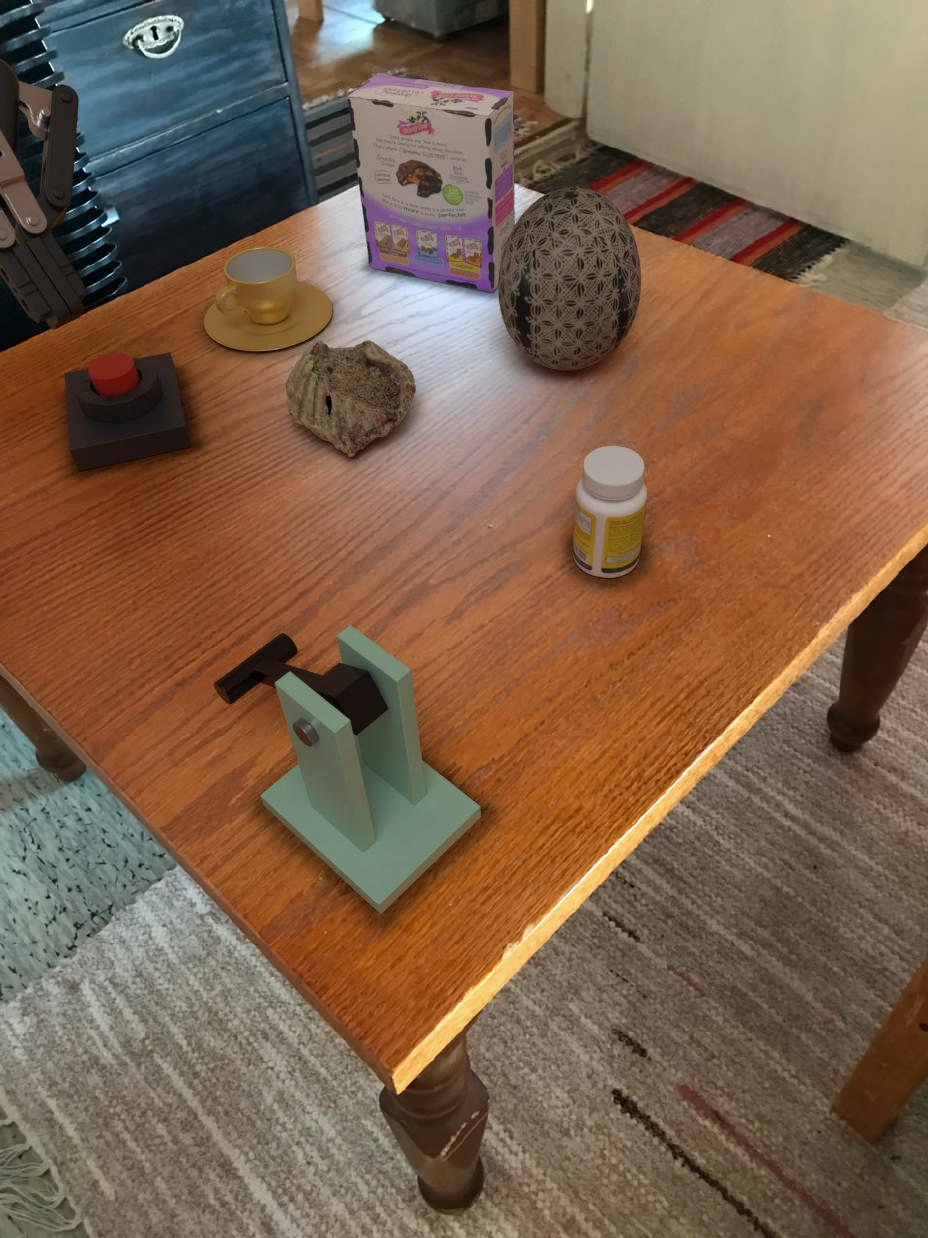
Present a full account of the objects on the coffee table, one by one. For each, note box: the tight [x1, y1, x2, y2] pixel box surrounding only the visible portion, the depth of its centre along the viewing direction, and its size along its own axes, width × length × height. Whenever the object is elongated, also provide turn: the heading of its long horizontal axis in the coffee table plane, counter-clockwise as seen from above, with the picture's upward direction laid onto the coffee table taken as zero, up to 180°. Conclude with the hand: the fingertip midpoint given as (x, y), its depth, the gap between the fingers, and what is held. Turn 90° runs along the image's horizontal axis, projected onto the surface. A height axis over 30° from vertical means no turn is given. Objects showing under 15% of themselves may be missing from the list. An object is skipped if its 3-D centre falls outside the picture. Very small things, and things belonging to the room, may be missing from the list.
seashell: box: [285, 339, 417, 458], centre depth 79 cm, size 11×7×10 cm
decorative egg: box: [497, 186, 642, 371], centre depth 80 cm, size 12×12×15 cm
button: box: [87, 352, 139, 396], centre depth 79 cm, size 4×4×2 cm
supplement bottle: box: [572, 445, 648, 579], centre depth 67 cm, size 5×5×8 cm
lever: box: [213, 632, 389, 736], centre depth 52 cm, size 12×5×2 cm, turn 47°
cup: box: [203, 246, 334, 352], centre depth 90 cm, size 12×12×5 cm
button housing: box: [64, 351, 192, 472], centre depth 81 cm, size 11×9×4 cm
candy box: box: [347, 72, 516, 293], centre depth 91 cm, size 14×6×16 cm, turn 65°
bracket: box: [259, 624, 482, 915], centre depth 52 cm, size 10×8×13 cm
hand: (69, 318), depth 48 cm, fingers closed
